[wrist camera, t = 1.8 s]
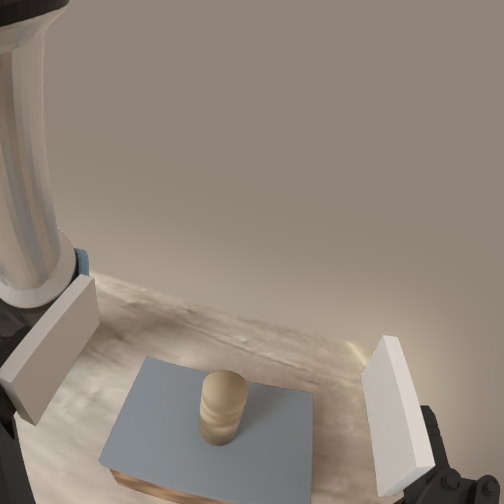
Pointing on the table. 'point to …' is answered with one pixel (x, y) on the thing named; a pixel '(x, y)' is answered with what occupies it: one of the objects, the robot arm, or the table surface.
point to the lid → (214, 436)
